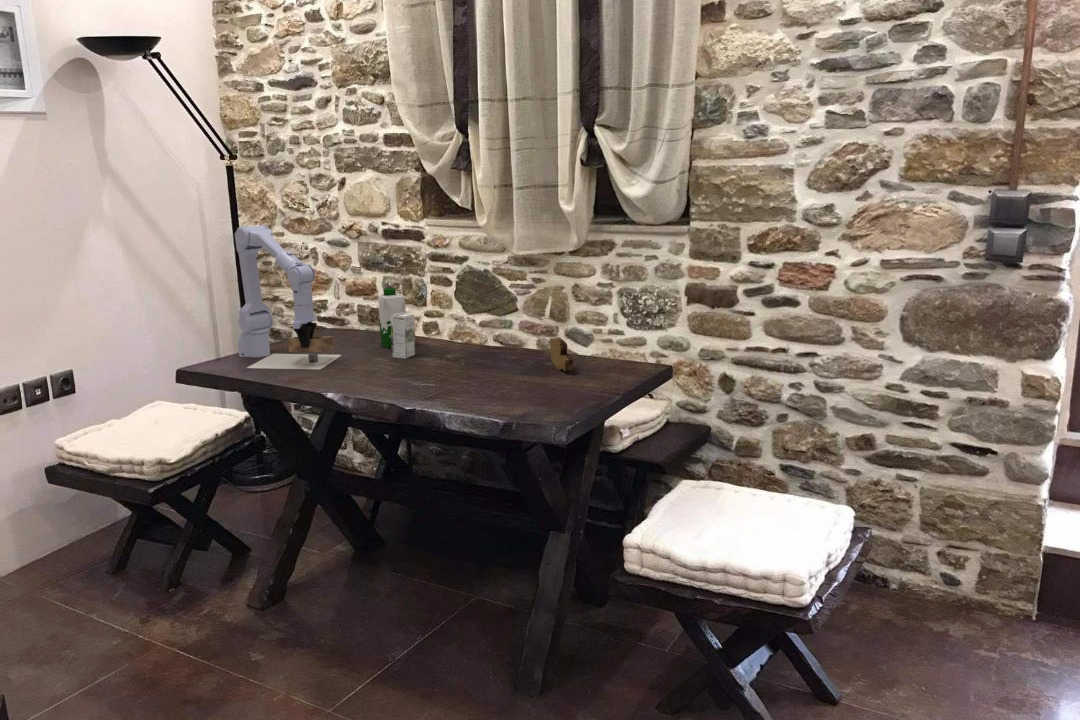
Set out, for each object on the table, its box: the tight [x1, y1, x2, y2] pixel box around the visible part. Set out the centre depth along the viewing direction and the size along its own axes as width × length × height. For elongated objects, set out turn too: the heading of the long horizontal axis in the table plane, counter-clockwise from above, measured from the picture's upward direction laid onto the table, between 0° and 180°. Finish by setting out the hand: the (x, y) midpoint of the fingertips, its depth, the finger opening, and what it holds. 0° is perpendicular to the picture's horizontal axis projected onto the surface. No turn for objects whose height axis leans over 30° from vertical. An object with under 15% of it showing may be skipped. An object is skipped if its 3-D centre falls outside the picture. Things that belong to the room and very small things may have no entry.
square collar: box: [287, 335, 336, 353], centre depth 281 cm, size 11×11×4 cm
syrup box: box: [391, 312, 416, 359], centre depth 291 cm, size 6×6×14 cm
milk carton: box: [377, 287, 407, 350], centre depth 307 cm, size 9×9×20 cm
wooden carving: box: [548, 336, 574, 372], centre depth 273 cm, size 16×5×10 cm, turn 23°
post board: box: [246, 352, 342, 370], centre depth 283 cm, size 24×20×6 cm
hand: (306, 346), depth 277 cm, fingers closed on square collar, 2 cm apart
